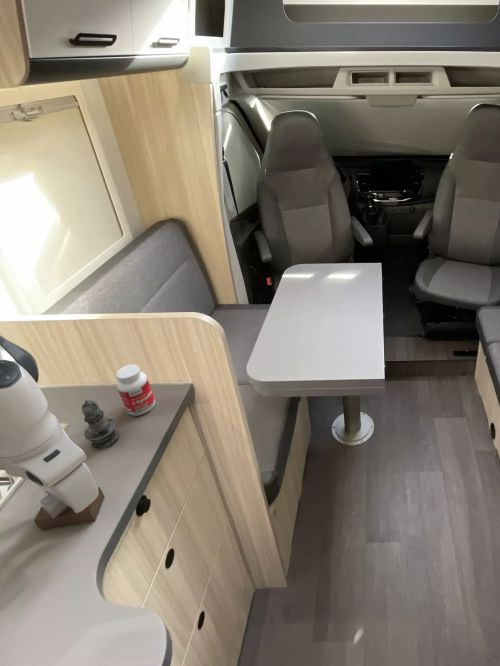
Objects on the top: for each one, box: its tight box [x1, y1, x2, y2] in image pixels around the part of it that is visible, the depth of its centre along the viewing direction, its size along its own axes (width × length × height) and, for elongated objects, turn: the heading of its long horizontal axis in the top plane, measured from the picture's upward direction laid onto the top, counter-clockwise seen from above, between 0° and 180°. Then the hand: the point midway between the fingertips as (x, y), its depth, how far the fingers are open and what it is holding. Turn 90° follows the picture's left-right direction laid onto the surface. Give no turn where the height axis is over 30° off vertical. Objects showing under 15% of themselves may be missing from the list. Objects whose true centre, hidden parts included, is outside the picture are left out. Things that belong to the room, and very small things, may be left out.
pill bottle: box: [115, 364, 156, 417], centre depth 101 cm, size 6×6×11 cm
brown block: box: [33, 486, 106, 532], centre depth 81 cm, size 9×5×3 cm, turn 101°
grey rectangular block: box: [38, 493, 68, 519], centre depth 79 cm, size 6×2×4 cm, turn 153°
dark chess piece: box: [81, 399, 120, 451], centre depth 93 cm, size 6×6×12 cm
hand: (65, 499), depth 79 cm, fingers open, 6 cm apart
